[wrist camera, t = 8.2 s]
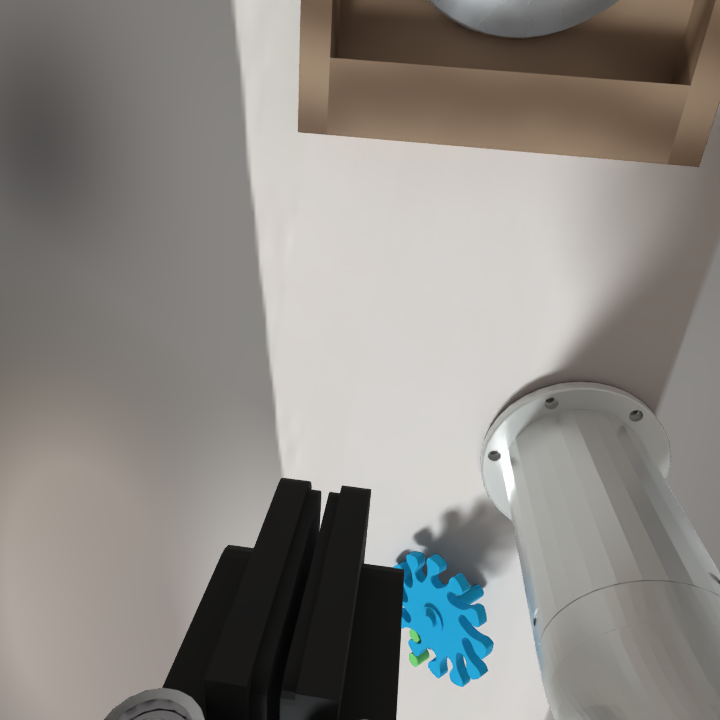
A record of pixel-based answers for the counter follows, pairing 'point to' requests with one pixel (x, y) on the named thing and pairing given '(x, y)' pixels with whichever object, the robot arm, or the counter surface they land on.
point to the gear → (443, 619)
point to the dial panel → (515, 80)
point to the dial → (520, 15)
